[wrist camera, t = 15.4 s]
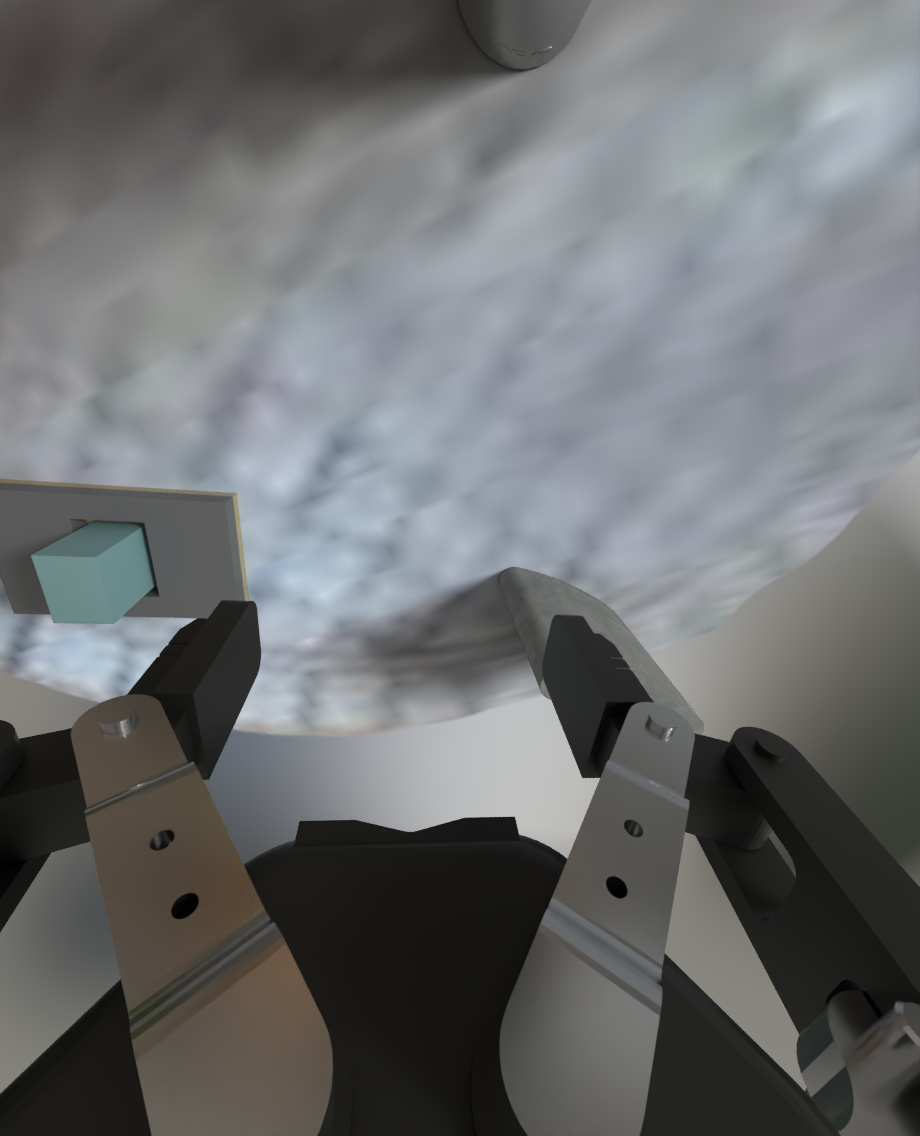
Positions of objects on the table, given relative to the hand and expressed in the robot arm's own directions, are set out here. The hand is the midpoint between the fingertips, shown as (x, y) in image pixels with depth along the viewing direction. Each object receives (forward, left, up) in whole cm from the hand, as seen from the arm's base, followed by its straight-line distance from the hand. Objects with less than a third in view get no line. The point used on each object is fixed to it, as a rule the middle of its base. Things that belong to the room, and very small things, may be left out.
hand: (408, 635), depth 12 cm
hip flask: (+17, +18, -34) cm, 42 cm away
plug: (+13, -26, -32) cm, 43 cm away
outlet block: (+13, -26, -33) cm, 44 cm away
